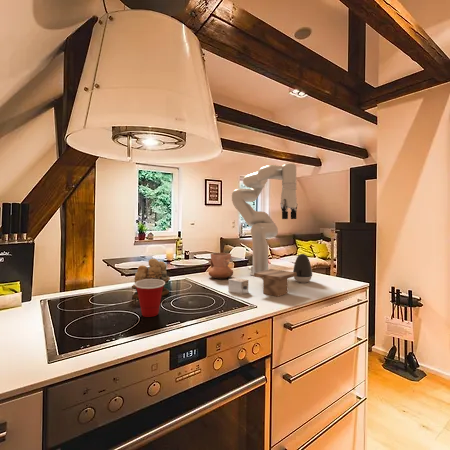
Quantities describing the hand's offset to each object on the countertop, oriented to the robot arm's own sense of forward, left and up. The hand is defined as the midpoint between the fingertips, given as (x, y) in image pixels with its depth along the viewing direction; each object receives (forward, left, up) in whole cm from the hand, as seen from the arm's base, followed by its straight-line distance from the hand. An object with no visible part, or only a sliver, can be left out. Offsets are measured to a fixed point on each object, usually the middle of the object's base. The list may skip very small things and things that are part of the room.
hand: (289, 219), depth 153 cm
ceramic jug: (-36, -16, -34) cm, 53 cm away
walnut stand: (+7, -24, -34) cm, 43 cm away
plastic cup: (-11, -79, -34) cm, 87 cm away
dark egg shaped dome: (+5, +6, -34) cm, 35 cm away
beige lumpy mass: (-33, -64, -35) cm, 80 cm away
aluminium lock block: (-7, -34, -34) cm, 49 cm away
